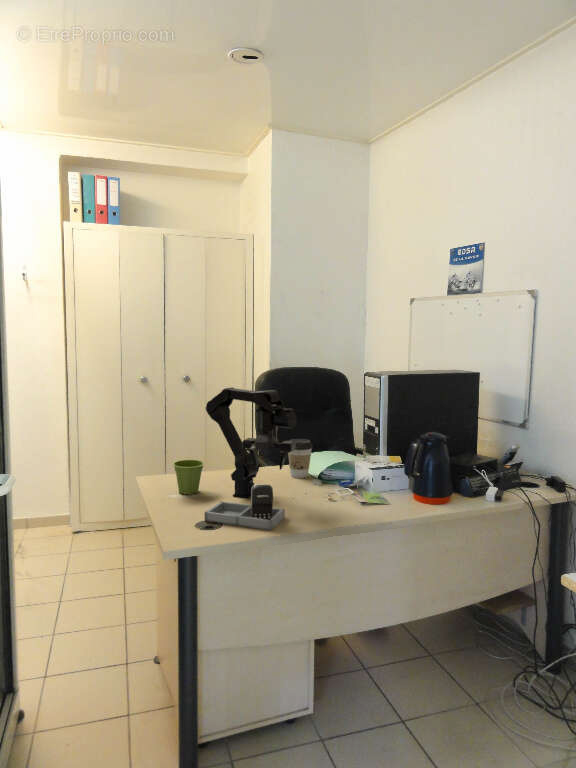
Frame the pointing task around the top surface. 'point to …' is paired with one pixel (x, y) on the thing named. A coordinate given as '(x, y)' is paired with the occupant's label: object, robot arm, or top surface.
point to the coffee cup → (300, 458)
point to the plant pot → (188, 475)
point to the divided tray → (242, 516)
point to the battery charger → (262, 501)
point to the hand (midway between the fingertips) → (268, 468)
